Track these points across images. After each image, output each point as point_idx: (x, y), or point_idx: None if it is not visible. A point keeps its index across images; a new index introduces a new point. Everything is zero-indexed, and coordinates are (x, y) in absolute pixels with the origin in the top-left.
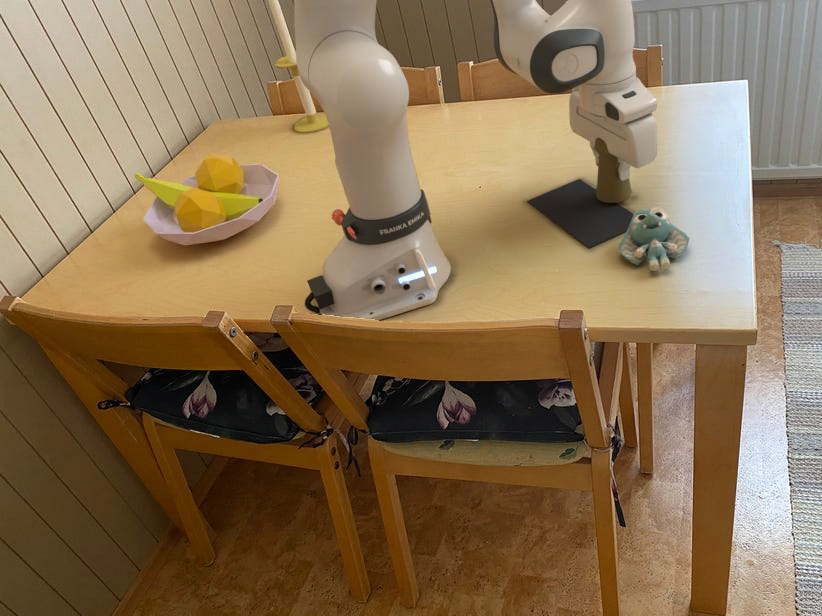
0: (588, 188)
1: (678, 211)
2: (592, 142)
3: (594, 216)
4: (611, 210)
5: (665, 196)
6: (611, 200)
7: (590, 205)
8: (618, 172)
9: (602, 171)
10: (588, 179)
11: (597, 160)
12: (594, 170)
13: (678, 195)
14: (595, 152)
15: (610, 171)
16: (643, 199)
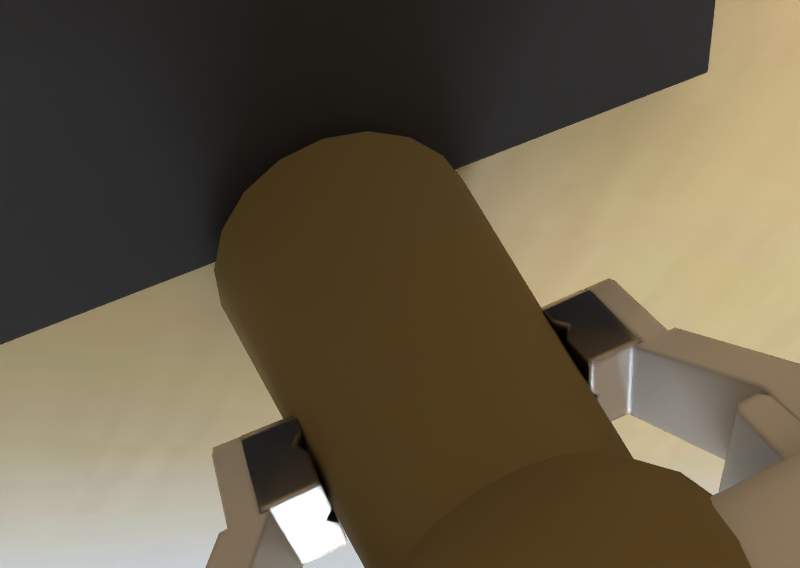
0: (556, 100)
1: (3, 542)
2: (786, 477)
3: (96, 30)
4: (154, 192)
5: None
6: (232, 233)
7: (314, 48)
8: (257, 492)
9: (397, 348)
10: (664, 127)
11: (615, 327)
12: (718, 183)
13: (199, 536)
14: (693, 369)
15: (336, 422)
16: (240, 389)
